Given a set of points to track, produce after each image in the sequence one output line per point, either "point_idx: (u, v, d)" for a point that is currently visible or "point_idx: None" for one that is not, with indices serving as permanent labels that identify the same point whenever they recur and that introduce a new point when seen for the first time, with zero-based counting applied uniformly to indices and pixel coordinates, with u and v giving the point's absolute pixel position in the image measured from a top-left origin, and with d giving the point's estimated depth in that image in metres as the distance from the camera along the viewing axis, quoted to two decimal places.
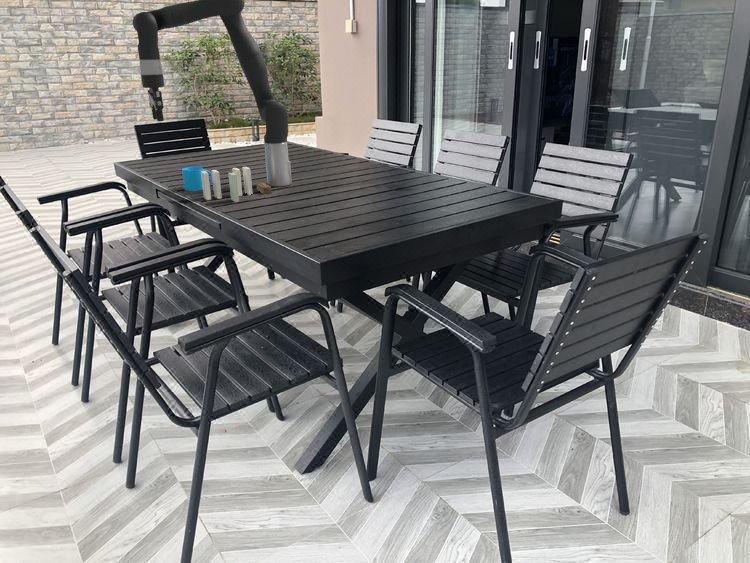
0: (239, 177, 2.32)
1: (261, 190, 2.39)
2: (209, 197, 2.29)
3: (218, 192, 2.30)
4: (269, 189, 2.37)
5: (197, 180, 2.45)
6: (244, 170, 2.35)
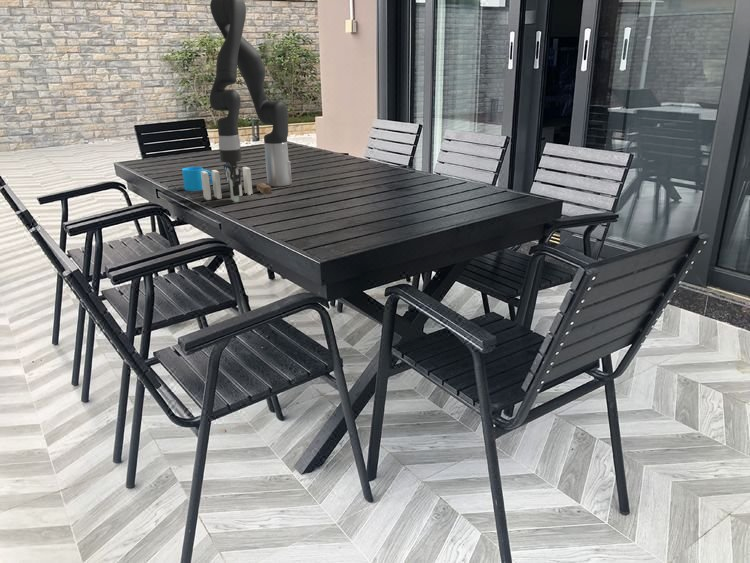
0: None
1: (261, 190, 2.39)
2: (209, 197, 2.29)
3: (218, 192, 2.30)
4: (269, 189, 2.37)
5: (197, 180, 2.45)
6: (244, 170, 2.35)
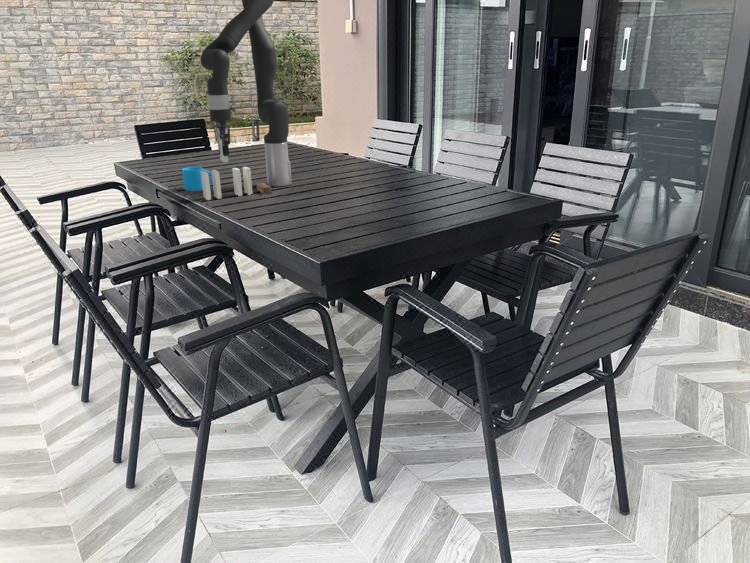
0: (239, 177, 2.32)
1: (261, 190, 2.39)
2: (209, 197, 2.29)
3: (218, 192, 2.30)
4: (269, 189, 2.37)
5: (197, 180, 2.45)
6: (244, 170, 2.35)
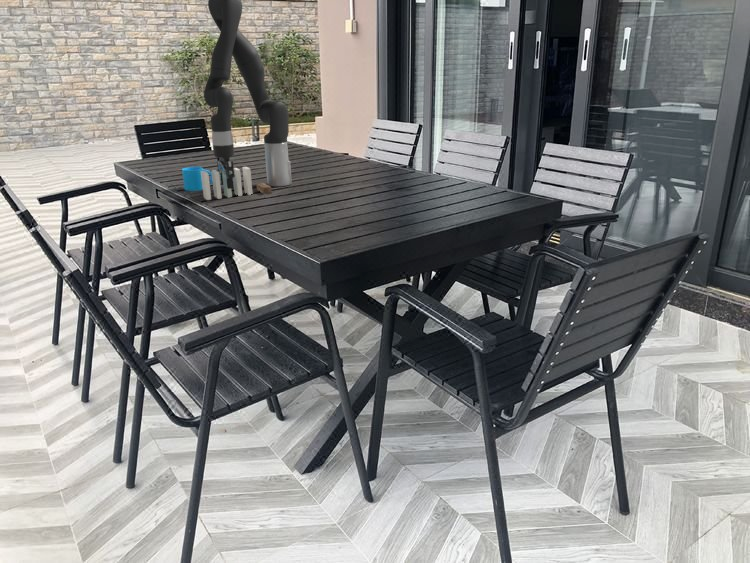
0: (239, 177, 2.32)
1: (261, 190, 2.39)
2: (209, 197, 2.29)
3: (218, 192, 2.30)
4: (269, 189, 2.37)
5: (197, 180, 2.45)
6: (244, 170, 2.35)
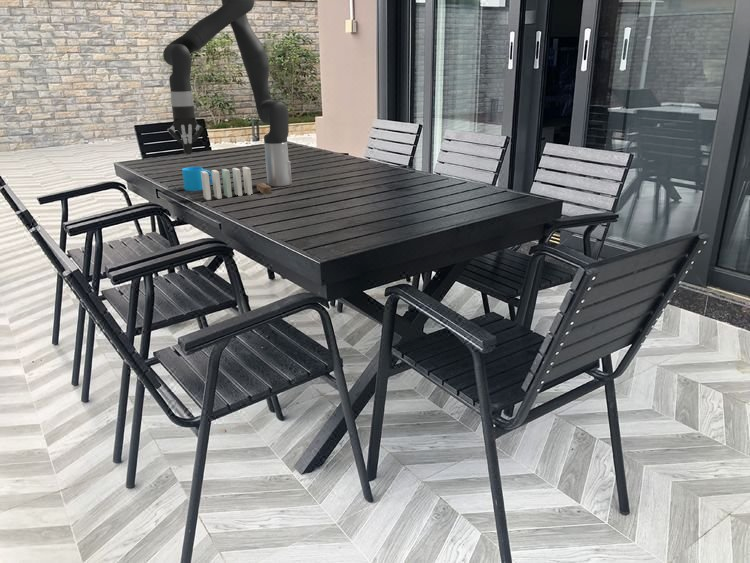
0: (239, 177, 2.32)
1: (261, 190, 2.39)
2: (209, 197, 2.29)
3: (218, 192, 2.30)
4: (269, 189, 2.37)
5: (197, 180, 2.45)
6: (244, 170, 2.35)
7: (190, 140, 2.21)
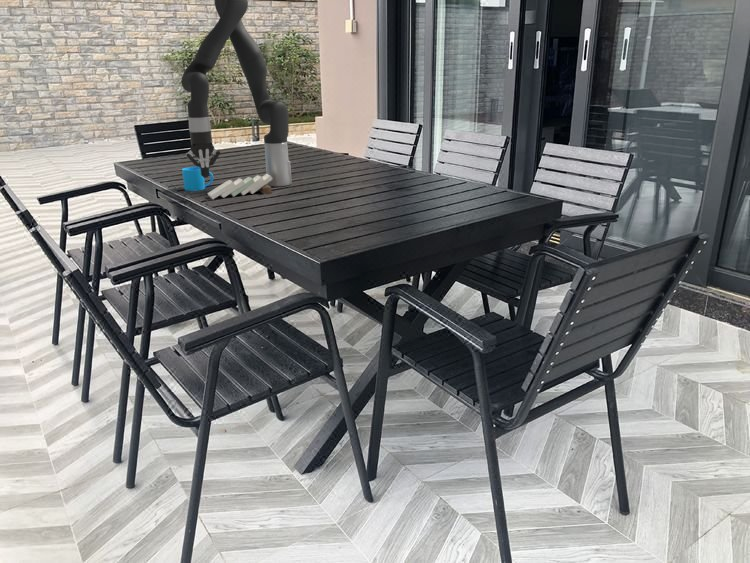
0: (257, 183, 2.36)
1: (261, 190, 2.39)
2: (214, 196, 2.30)
3: (227, 192, 2.32)
4: (269, 189, 2.37)
5: (197, 180, 2.45)
6: (266, 176, 2.40)
7: (207, 164, 2.26)
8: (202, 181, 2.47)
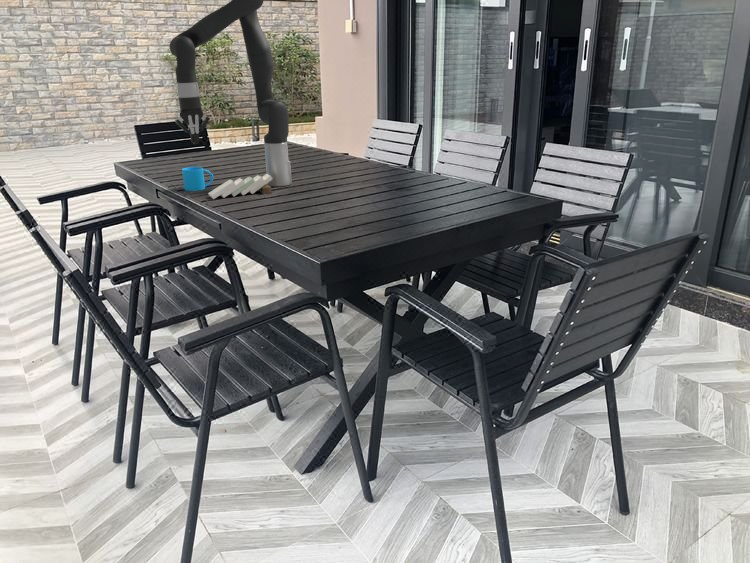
0: (257, 183, 2.36)
1: (261, 190, 2.39)
2: (214, 196, 2.30)
3: (227, 192, 2.32)
4: (269, 189, 2.37)
5: (197, 180, 2.44)
6: (266, 176, 2.40)
7: (197, 130, 2.27)
8: (202, 181, 2.47)
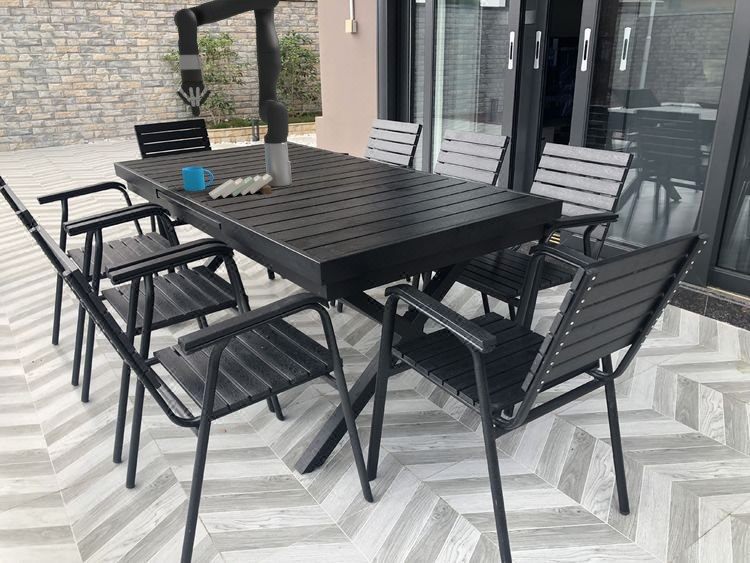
0: (257, 183, 2.36)
1: (261, 190, 2.39)
2: (215, 196, 2.30)
3: (227, 192, 2.32)
4: (269, 189, 2.37)
5: (197, 180, 2.44)
6: (266, 176, 2.40)
7: (198, 103, 2.30)
8: (202, 181, 2.47)
